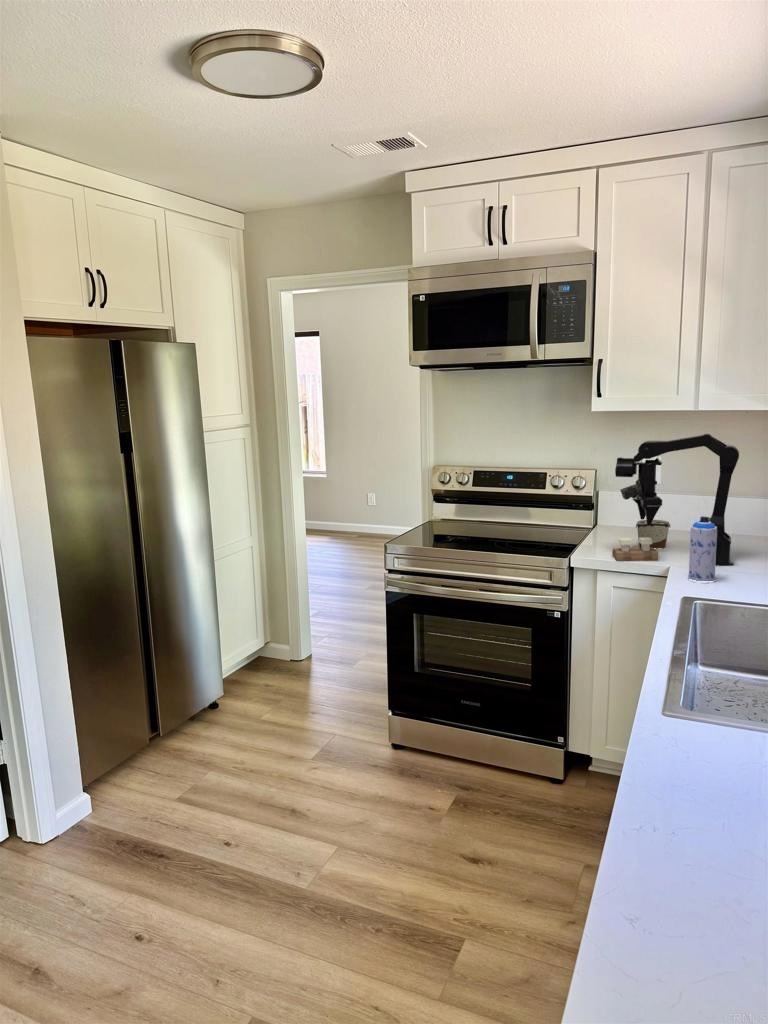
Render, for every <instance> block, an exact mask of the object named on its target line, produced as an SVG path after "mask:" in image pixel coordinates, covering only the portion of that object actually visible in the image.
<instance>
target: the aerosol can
mask: <svg viewBox="0 0 768 1024" xmlns="http://www.w3.org/2000/svg"><path fill="white" fill-rule="evenodd" d="M708 517H709V516H700V519H699V520H697V521H696V522H694V523H693V524H692V525H691V526H690V537H689V539H690V540H689V560H688V562H689V563H688V577H689V579H692V580H696V581H714V580H715V581H716V578H715V577H716V576H715V575H716V565H715V564H716V544H717V527H716V526H715V525H714V524H713V523H711V522H710V521H708Z"/></svg>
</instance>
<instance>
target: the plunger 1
mask: <svg viewBox="0 0 768 1024" xmlns="http://www.w3.org/2000/svg"><path fill="white" fill-rule="evenodd" d="M618 543H619V544H620V548H621V551H629V548H630V545H633V544H632V543H633V540H632V539H631V538H630V537H619V538H618Z"/></svg>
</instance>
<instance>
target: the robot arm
mask: <svg viewBox="0 0 768 1024" xmlns="http://www.w3.org/2000/svg"><path fill="white" fill-rule="evenodd" d="M701 447H702V448H703V447H706V448H707V449H708V450H709V451H711V452H712V453H713V454H715V455H716V456H718V457H719V476H718V483H717V488H716V492H715V493H716V494H715V498H714V504H713V510H712V513H711V516H710V517H709V516H707V517H708V521H710V522H711V523H713V524H714V525H715V526H716V527H717V544H716V564H715V566H734V564H735V563H734V562H732V561H731V548H732V547H731V544H732V537H731V536H730V535H729V534H728V533H727V532H726V529H725V525H726V524H725V519H726V518H725V514H726V508H727V504H728V503H727V502H728V497H729V491H730V487H731V482H732V477H733V476H732V475H733V474H734V471H735V468H736V467H737V464H738V461H739V458H740V451H739V449H738V448H737V447H736V446H735V445H729V444H726V443H724V442H722V441H721V440H719V439H718V438H715V437H714V436H713V435H712V434H710V433H704V434H701V435H695V436H690V437H689V436H688V437H683V438H678V439H677V438H676V439H670V440H645V441H643V442H642V443H641V444H640V445H639V447H638V448H637V451H638V452H637V453H636V455H634V456H633V457H626V458H625V457H621V456H620V457H617V458H616V463H615V464H616V465H615V477H617V478H634V475H637V473H638V475H637V476H638V477H637V479H636V480H635V484H632V485H629V486H626V487H623V488H621V489H620V493H621V496H622V499H624V500H625V501H626V500H629V499H630V498H631V499H632V501H634V503H635V504H636V505H637V508H638V509H637V510H638V513H639V518H640V520H646V521H647V525H650V524H651V523H652V521H653V520H655V517H656V515H657V513H658V511H659V510H660V508H661V506H663V499H662V498H661V497H660V496H658V495H657V492H656V485H658V481H657V478H656V477H657V466H662V464H663V461H661V460H660V459H659V457H658V456H662V455H664V454H666V453H670V452H677V451H683V450H689V449H694V448H701ZM655 457H656V458H655ZM653 458H655V459H653ZM644 459H645V460H644ZM643 460H644V461H643ZM641 461H643V462H641Z"/></svg>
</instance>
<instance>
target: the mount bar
mask: <svg viewBox="0 0 768 1024" xmlns="http://www.w3.org/2000/svg"><path fill="white" fill-rule="evenodd" d="M611 552H612V553H611V556H613V557H614V558H615V559H614V558H613V557H612V558H613V559H614V560H615V561H616V562H649V561H650V562H651V561H652V562H654V561H655V562H656V561H657V562H658V561H659V553H660V552H659V551H657V549H654V548H650V550H649V551H642V550H641V548H639V547H629V551H621V547H613V548H612V550H611Z"/></svg>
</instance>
